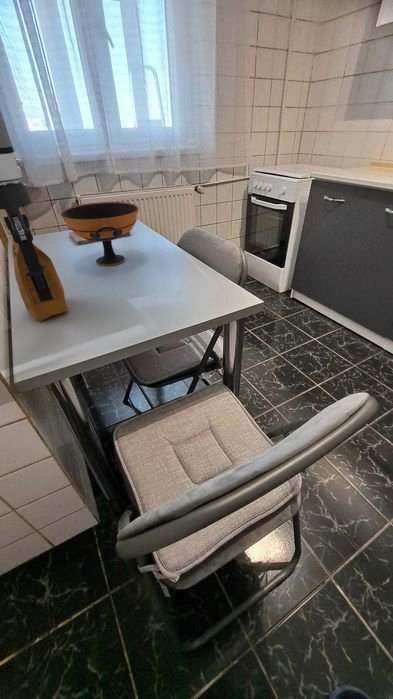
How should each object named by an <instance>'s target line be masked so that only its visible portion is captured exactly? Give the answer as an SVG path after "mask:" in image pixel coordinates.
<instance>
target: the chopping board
mask: <svg viewBox="0 0 393 699" xmlns="http://www.w3.org/2000/svg"><path fill="white" fill-rule="evenodd" d="M68 233H69V234H68V235H69V237H70V238H71V239H72V240H73V241H74V243H75V244H76V245H77V246H80V245H86V244H91V243H96V242H97V241H92V240H87V239H84V238H82V237H80V236H78V235H76V234H75V233H74V232H73V231H70V232H68ZM129 236H131V231H130V232H129V233H127V234H126V235H124V236H122V237H121V238H125V237H129Z"/></svg>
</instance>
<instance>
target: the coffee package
mask: <svg viewBox="0 0 393 699" xmlns="http://www.w3.org/2000/svg"><path fill="white" fill-rule="evenodd" d="M33 246H34V248H35V251H36V254H37V257H38V260H39V262H40V265H44V267H45V268H44V269H43V273H44V275H45V278H46V281H47V284H48V286H49V289H50V292H51V295H52V297H53V299H52V300H48V301H44V302H40V300H39V297H38V294H37V292H36V289H35V287H34V284H33V282H32V279H31V277H30V276H27V275H26V273H27V272H29V270H28V269H27V265H26V264H25V260H24V257H23V255H22V252H21V250H20V247H19V245H18V244H17V243H15V242H14V239H13V238H12V242H11V254H12V259H13V266H14V267H13V269H14V278H15V281H16V285H17V287H18V290H19V294H20V297H21V300H22V301H23V305H24V306H25V309H26V311H27V313H28V314H29V316H31V318H33V319H34V320H35V321H36V322H41V321H44V320H46V319H47V318H50V317H52V316H56V315H60V314H63V313H65V312H66V311H68V310H69V308H68V306H67V301H66V296H65V290H64V287H63V285H62V282H61V280H60V276H59V275H58V271H57V269H56V267H55V265H54V263H53V261H52V259H51V258H50V256H48V254H46V253H45V252H44V251H43V250H42V249H40V248H39V247H38V246H37V245H35V243H33Z"/></svg>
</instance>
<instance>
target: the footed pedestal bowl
mask: <svg viewBox="0 0 393 699" xmlns="http://www.w3.org/2000/svg"><path fill="white" fill-rule="evenodd" d="M139 209H140V208H139V206H138V205H137V204H134V203H131V202H123V201H101V202H92V203H83V204H79V205H75V206H70V207H68V208H66V209H63V210H62V211H61V212H60V213H59V214H60V217H61V218H62V219H63V221H64V222H65V224H66V225H67V227H68V228H69V230H70V231H71V232H74V233H75V234H76V235H78V236H80V237H82V238H84V239H87V240H92V241H96V242H101V243H102V246H103V255H102V256H100V257H98V258H97V259H96V260H95V263H96V264H97V265H99V266H103V267H108V266H111V267H112V266H115V265H119V264H120V265H121V264H122V263H123V262H125V259H126V258H125V256H124V255H121V254H116V253H115V251H114V248H113V243H112V241H114V240H117V239H120V238H123V237H122V236H124V235H126V234H127V233H129V232H130V233H131V231H132V230H133V228H134V226H135V224H136V222H137V218H138V213H139ZM124 237H125V236H124Z"/></svg>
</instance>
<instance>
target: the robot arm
mask: <svg viewBox="0 0 393 699" xmlns="http://www.w3.org/2000/svg"><path fill="white" fill-rule="evenodd" d="M16 155H17V154H16V152H15V149H14V146H13V143H12V140H11V137H10V134H9V130H8V127H7V124H6V122H5V119H4V115H3V113H2V109H1V108H0V211H1V210H4V211H5V212H6V216H3V217H2V218H3V220H4V224H5V226H6V228H7V230H8V231H9V232H10V234H11V238H12V240H13V239H14V242H15V243H17V244H18V245H19V247H20V250H21V252H22V255H23V257H24V260H25V264H26V265H27V269H28V270H29V272H27V273H26V275H27V276H30V277H31V279H32V282H33V284H34V287H35V289H36V292H37V294H38V297H39V300H40V302H44V301H48V300H52V299H53V297H52V295H51V292H50V289H49V286H48V284H47V281H46V278H45V275H44V273H43V269H44V268H45V267H44V265H40V262H39V260H38V257H37V254H36V251H35V248H34V246H33V244H34V243H33V241H34V237H33V234H32V230H31V228H30V226H31V224H30V221H29V218H28V216H27V215H26V213H23V214H22V213H21V210H20V208H24V207H27V206H29V205H30V204H32V198H31V196H30V192H29V189H28V186H27V184H26V182H24V181H22V179H23V178H24V176H23V173H22V170H21V167H19V166H21V165H23V161H22V159H21V158H16V157H17V156H16Z"/></svg>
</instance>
